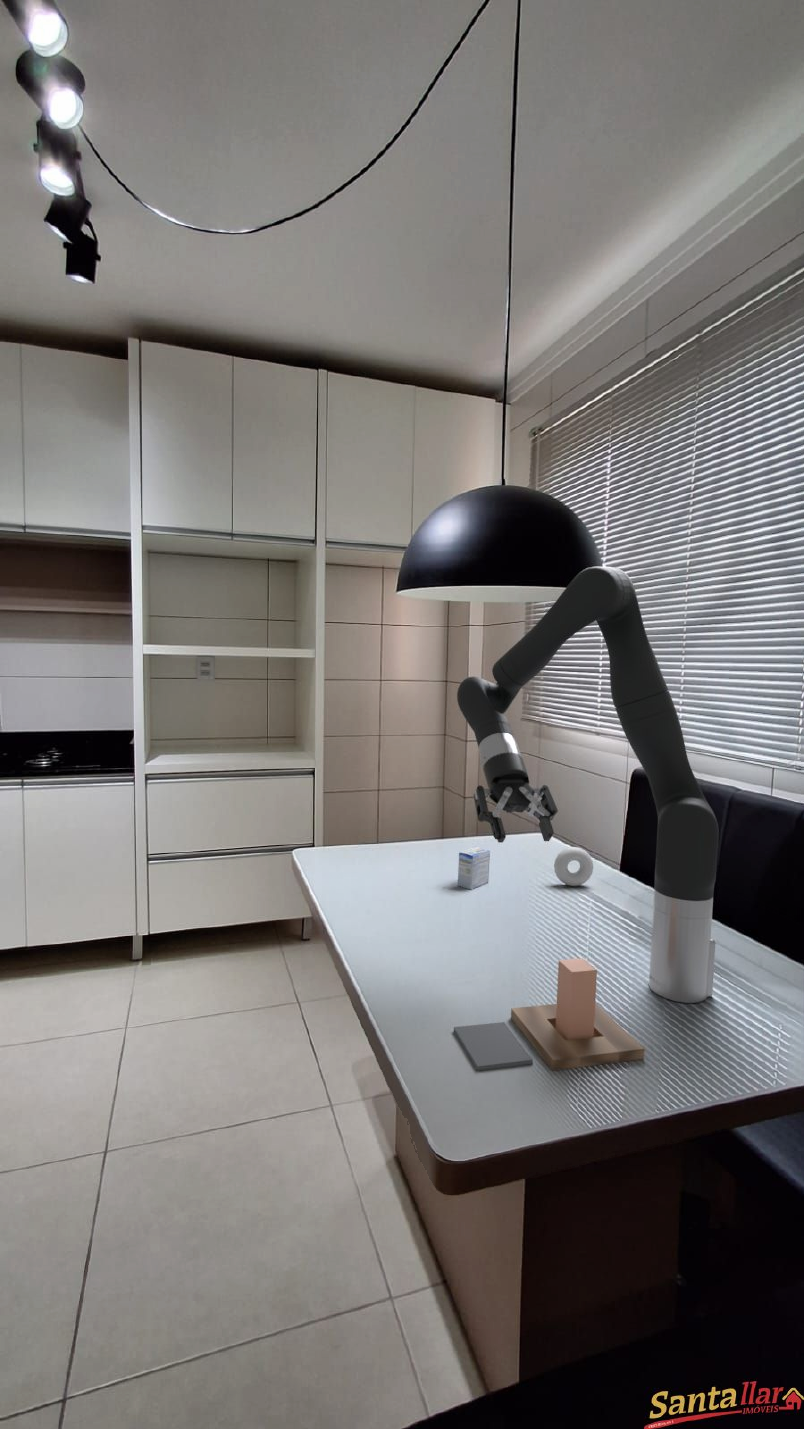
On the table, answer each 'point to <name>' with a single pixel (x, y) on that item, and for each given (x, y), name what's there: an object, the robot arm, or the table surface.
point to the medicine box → (473, 867)
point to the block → (576, 999)
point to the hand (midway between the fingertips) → (525, 839)
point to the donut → (584, 866)
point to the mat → (492, 1046)
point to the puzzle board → (562, 1054)
